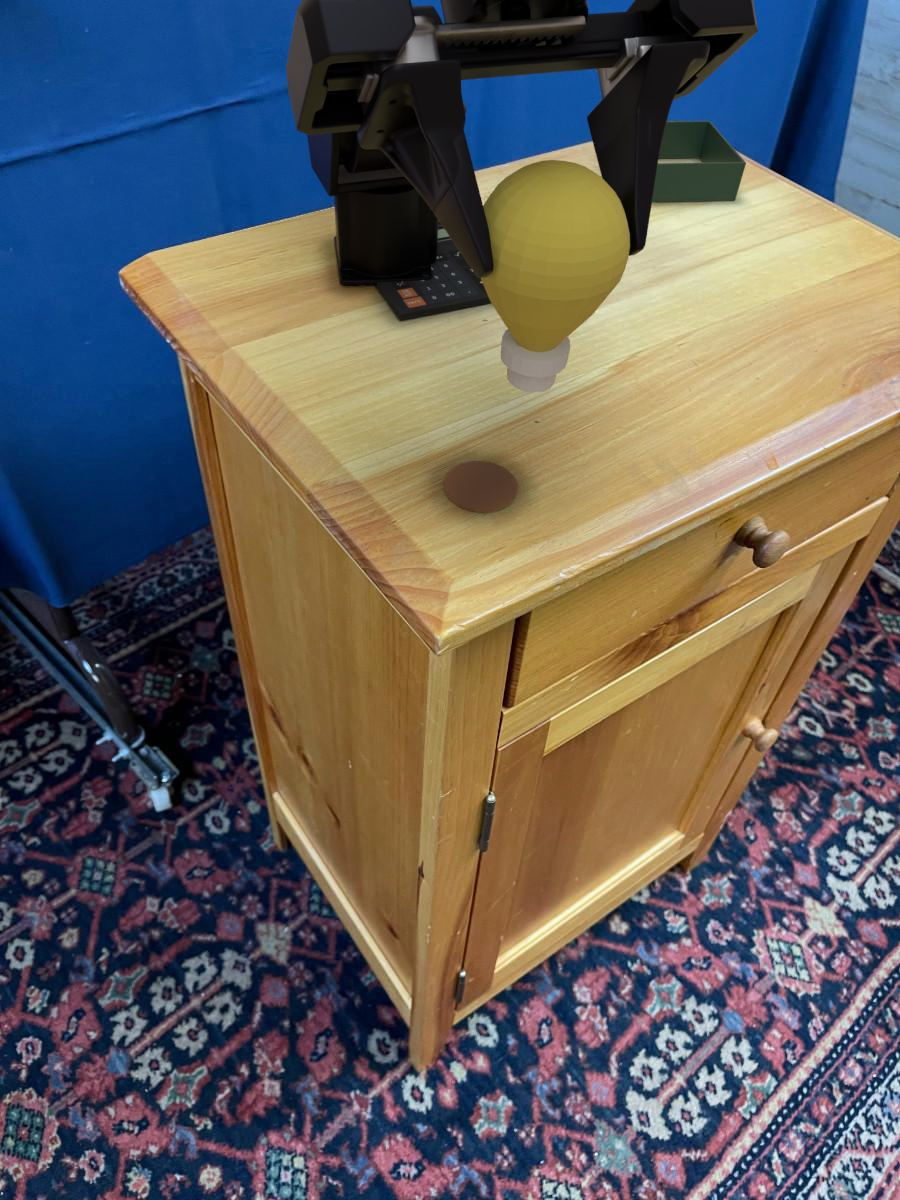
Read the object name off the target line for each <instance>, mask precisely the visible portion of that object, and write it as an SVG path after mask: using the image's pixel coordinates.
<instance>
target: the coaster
mask: <svg viewBox="0 0 900 1200" xmlns="http://www.w3.org/2000/svg"><path fill="white" fill-rule="evenodd" d="M518 488H519V487H518V482H517V480H516V478H515V476H514V475H513V473H512V472H511V471H510V470H509V469H507V468H506V467H504V466H502V465H500V464H497V463H496V462H492V461H486V460H469V461H465V462H461V463H459V464H457V465H455V466H454V467H452V468H451V469H450V470H449V471H448V472H447V473H446V474H445V476H444V479H443V491H444V493H445V495H446V497H447V498H448V499H449V500H450V501H451V502H452V503H453V504H454V505H456V506H457V507H459V508H461V509H464V510H466V511H470V512H475V513H493V512H496V511H499V510H502V509H505V508H506V507H508V506H509V505H511V504H512V503H513V501H514V500H515V499H516V496H517V494H518Z"/></svg>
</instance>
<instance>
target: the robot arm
mask: <svg viewBox="0 0 900 1200" xmlns="http://www.w3.org/2000/svg"><path fill="white" fill-rule="evenodd" d="M439 2H440V6H441V10H442V11H441V12H442V16H443V17H442V18H443V20H442V18H441V16H440V14H439V12H438V11H437V9H436V8H435V7H434V5H433V4H428V5H414V4H412V0H301V2H300V4H299V5H298V7H297V8H296V11H295V18H294V23H293V26H292V27H293V28H292V33H291V39H290V44H289V49H288V55H287V59H286V64H285V73H286V85H287V93H288V97H289V101H290V105H291V111H292V115H293V119H294V120H293V121H294V123H295V129H296V131H298V132H300V133H302V134H304V135H306V137H307V144H308V151H309V159H310V165H311V169H312V170H313V172H314V174H315V175H316V177H317V179H318V180H319V182H320V184H321V186H322V187H323V189H324V190H325V192H326V194H327V197H333V200H334V201H333V202H334V203H333V204H334V221H335V236H334V237H333V246H334V247H333V248H334V253H335V260H336V261H335V262H336V269H337V276H338V284H339V285H340V286H342V287H344V288H345V287H347V288H349V287H375V286H377V282H389V281H417V280H430V279H432V278H433V272H432V269H431V265H430V263H434V262H435V261H436V260H437V241H438V220H439V222H440V223H441V225H442V226H443V227H444V229H445V230H446V232H447V233H448V235H449V236H450V238H451V239H452V241H453V242H454V244H455V245H456V246H457V248H458V249H459V251H460V252H461V254H462V255H463V257H464V258H465V260H466V261H467V263H468V264H469V266H470V267H471V268H472V270H473V271H474V273H475V274H476V276H477V277H478V278H484V277H487V276H488V275H490V274H491V273H492V272H493V269H494V263H493V256H492V248H491V240H490V233H489V228H488V224H487V220H486V216H485V212H484V208H483V205H484V203H483V201H482V200H483V199H482V197H481V192H480V188H479V185H478V180H477V176H476V173H475V169H474V165H473V160H472V157H471V153H470V149H469V145H468V144H469V143H468V141H467V137H466V133H465V125H466V114H467V106H466V104H465V102H464V99H463V94H462V93H463V92H462V81H468V80H480V79H490V78H491V79H493V78H504V77H505V78H506V77H517V76H527V75H540V74H552V73H553V74H554V73H564V72H578V71H588V70H595V72H596V73H597V76H598V81H599V87H600V92H601V93H600V94H601V98H602V99H601V100H600V102H598V104H597V105H596V106H595V107H594V108H593V109H592V110H591V112H589V113H588V114H587V116H586V120H587V121H586V122H587V124H588V128H589V132H590V137H591V140H592V145H593V148H594V153H595V156H596V160H597V163H598V168H599V171H600V176H601V177H602V178H603V179H604V180H605V181H606V183H607V184H608V185H609V186H610V187H611V188H612V189H613V190H614V191H615V193H616V194H617V196H618V198H619V199H620V201H621V204H622V206H623V209H624V211H625V215H626V219H627V223H628V228H629V233H630V250H629V257H631V256H635V255H637V254H639V253H640V252H641V251H643V250H644V248H645V246H646V243H647V237H648V230H649V224H650V217H651V211H652V204H653V202H652V198H653V192H654V185H655V179H656V172H657V166H658V163H659V159H660V158H659V153H660V147H661V142H662V138H663V134H664V130H665V126H666V122H667V121H668V118H669V114H670V110H671V107H672V104H673V102H674V101H675V100H677V99H680V98H683V97H685V96H687V95H690V94H691V93H693V92H694V91H695V90H696V89H697V88H698V87H700V85H701V84H703V83H704V82H705V81H706V80H707V79H709V77H710V76H711V75H712V74H713V73H714V72H715V71H717V70H718V69H719V68H721V66H722V65H724V63H725V62H726V61H728V60H729V59H730V58H731V57H732V56H734V54H736V52H738V51H739V50H740V49H741V48H742V47H743V46H744V45H745V44H746V43H747V42H748V41H750V40H751V39H752V38H753V37H754V36H755V35H756V34H757V33H759V28H758V21H757V14H756V9H755V8H756V7H755V1H754V0H634V1H633V2H632V3H631V5H630V6H629V7H628V9H627V10H626V11H615V12H601V13H589V6H588V0H439ZM423 275H429V276H428V277H424V276H423Z"/></svg>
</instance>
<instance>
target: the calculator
mask: <svg viewBox="0 0 900 1200" xmlns="http://www.w3.org/2000/svg"><path fill="white" fill-rule="evenodd" d="M430 265H431V269H432V272H433V278H432V279H430V280H417V281H389V282H377V286H374V288H375V289H376V290H377V292H378V293H379V294H380V295H381V297H382V298H383V300H384V301H385V302H386V304H387V305H388V307H389V308H390V309H391V311H392V312H393V313H394V315H395V317H396V318H397V319H398V321H399V322H407V321H410V320H416V319H421V318H426V317H432V316H436V315H442V314H446V313H452V312H457V311H461V310H462V311H463V310H466V309H467V310H468V309H470V308H476V307H481V306H487V305H492V303H491V301H490V299H489V297H488V294H487V292H486V290H485V287H484V285H483V283H482V280H481V278H478V277H477V276H476V274H475V273H474V271H473V270H472V268H471V267H470V266H469V264H468V263H467V261H466V260H465V258H464V257H463V255H462V254H461V252H460V251H459V249H458V248H457V246H456V245H455V244H454V242H453V241H452V239H451V238H450V236H449V235H448V233H447V232H446V230H445V229H444V227H443V226H442V225H441V223H440V222H439V220H438V241H437V260H436V261H435V262H434V263H430ZM423 276H424V277H428V276H429V275H423Z"/></svg>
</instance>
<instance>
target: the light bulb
mask: <svg viewBox="0 0 900 1200" xmlns="http://www.w3.org/2000/svg"><path fill="white" fill-rule="evenodd" d="M483 208H484V212H485V216H486V220H487V224H488V228H489V233H490V240H491V248H492V256H493V263H494V269H493V272H492V273H491V274H490V275H488V276H487V277H484V278H481V280H482V283H483V285H484V287H485V290H486V292H487V294H488V297H489V299H490V301H491V303H492V304H491V305H492V306H493V308H494V309H495V311H496V313H497V314H498V316H499V318H500V319H501V320H502V322H503V324H504V325H505V327H506V328H507V329H506V330H505V331H504V332H503V335H502V337H501V346H500V360H501V361H502V363H503V365H504V366H505V367H506V368H507V372H506V379H507V381H508V383H509V384H510V385H511V386H512V387H513V388H515V389H518V391H519V390H520V391H521V392H522V391H523V392H526V393H542V392H545V391H547V390H550V389H551V388H552V387H553V386H554V384H555V382H556V377H557V375H558V374H560V373H561V372H562V371H563V370H565V368H566V366H567V365H568V360H569V355H570V351H571V341H570V338H569V336H570V335H572V334H573V333H574V332H575V331H577V329H578V328H579V327H580V326H582V325H583V324H584V323H585V322H586V321H587V320H589V319H590V318H591V317H592V316H593V315H594V314H595V312H596V311H597V310H598V309H599V308H600V306H601V305H602V304H603V303H604V302H605V300H606V299H607V298H608V297H609V295H610V294H611V293H612V292H613V290H614V289H615V288H616V287H617V286H618V285H619V284H620V282H621V280H622V279H623V276H624V272H625V270H626V268H627V264H628V262H629V261H628V260H629V257H630V256H629V250H630V233H629V228H628V223H627V219H626V215H625V211H624V209H623V206H622V204H621V201H620V199H619V198H618V196H617V194H616V193H615V191H614V190H613V189H612V188H611V187H610V186H609V185H608V184H607V183H606V181H605V180H604V179H603V178H602V176H601V175H600V174H598V173H596V172H595V171H594V170H592V169H591V168H588V167H586V165H582V164H579V163H576V162H572V161H568V160H557V159H550V160H540V161H536V162H533V163H530V164H526V165H524V166H522V167H520V168H519V169H517V170H515V171H513V172H512V173H510V174H509V175H507V176H506V177H505V178H504V179H502V180H501V181H500V182H499V183H498V184H497V185H496V187H495V188H494V189H493V191H492V192H491V193H490V194H489V196H488V197H487V199H486V200H485V202H484V203H483Z"/></svg>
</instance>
